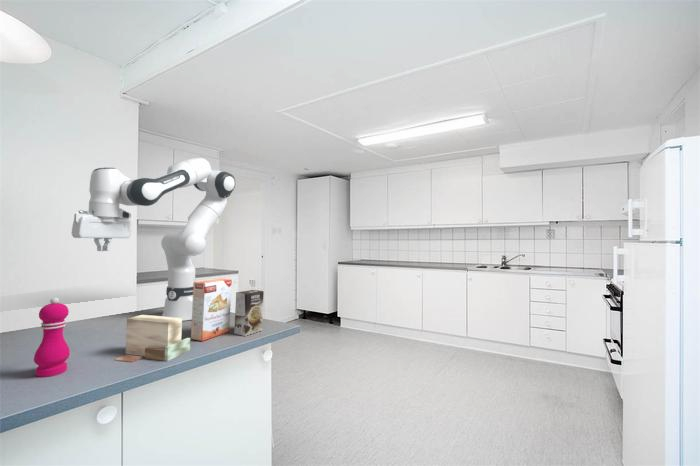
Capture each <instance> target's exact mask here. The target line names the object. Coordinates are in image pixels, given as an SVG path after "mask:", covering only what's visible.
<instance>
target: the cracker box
mask: <svg viewBox="0 0 700 466" xmlns="http://www.w3.org/2000/svg"><path fill="white" fill-rule="evenodd" d="M232 282H233V280H232V279H231V278H215V279H207V280H198V281H195V282H194V284H193V304H192V320H191V329H190V340H195V341H200V342H205V341H206V340H209V339H210V340H211V339H212V338H215V337H219V336H221V335H224V334H226V333H229V332H230V325H231V324H230V323H231V320H230V319H231V302H232V285H233V284H232Z"/></svg>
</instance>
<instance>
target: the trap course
mask: <svg viewBox="0 0 700 466" xmlns="http://www.w3.org/2000/svg"><path fill="white" fill-rule="evenodd" d="M189 351H191V337H186V338H183V339H181V341H179V342H176V343H174V344H172V345H169V346H167V347H165V349H157V348H148V347H147V348H145V356H141V355H132V354H125V355H122V356H119V357H117V358H114V361H118V362H126V363H134V362H136V361H138V360H141V359H142V358H144V359H145V360H146V359H147V360H154V361H162V362H164V361H165V362H169V361H171V360H172V359H174V358H177V357H178V356H181V355H183V354H186V353H187V352H189Z"/></svg>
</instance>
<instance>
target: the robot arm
mask: <svg viewBox="0 0 700 466" xmlns="http://www.w3.org/2000/svg"><path fill="white" fill-rule="evenodd" d="M190 186H193V187H194V188H195V189H197V190H198V191H200V192H205V196H204V198H203V199H202V200H201V201H200V203H198V205H197V206H196V207H195V208H194V210H192V211H191V213H190V214H189V215H188V217H187V224H186V225H185V227H184V229H182V231H172V232H169V233H167V234H165V235H164V236H163V237H162V238H161V242H160V243H161V248H162V249H163V251H164V255H165V258H166V259H165V260H166V264H167V286H166V290H165V291H166V292H165V294H166V297H165V300H164V306H163V313H162V314H161V316H164V317H176V318H182V322H183V321H190V320H191V321H192V304H193V284H194V282H196V267H195V266H194V264H193V261H192V257H195V256H197V255H201V254H202V253H203V252H204V251H205V249H206V246H207V242H206V240H207V237H208V235H209V233H210V231H211V229H212V228H213V227H214V225H215V224H216V223H217V221H218V220H219V218H220V217H221V216H222V214H223V213H224V210H225V209H226V206H227V204H228V200H227V198H228V197H230V196H231V194H232V193H233V191H234V189H235V188H236V178H235V176H234V175H233V174H232V173H230V172H227V171H222V170H218V169H217V170H216V169H212V167H211V164H210V162H209V161H208V160H207V159H205V158H204V157H193V158H187V159H183V160H180V161H178V162H175V163H173V164H172V165H169V167H167V171H166V174H164V175H162V176H159V177H155V178H150V177H141V178H137V179H132V178H129V177H128V176H126V175H125V174H123V173H122V172H121V171H120V170H119V169H118V168H116V167H98V168H95V169H93V170H92V172H91V175H90V179H89V191H88V192H89V194H90V199H89V202H88V210H87V211H86V210H79V211H77V212H75V213H74V216H73V222H72V226H71V227H72V228H71V235H72V238H75V239H93V242H94V244H95V246H96V251H97V252H108V251H109V250H110V249H109V247H110V245H111V244H112V241H113V239H129V238H130V237H131V234H132V222H131V220H130V219H132V214H131V213H130V212H129V211H126V210H124V209H122V208H121V207H120V204H121V205H123V206H131V207H133V206H144V207H150V206H152V205H155V204H156V203H158V201H159V200H160V199H161V198H162V197H163V196H164V195H165V194H167V193H170V192H172V191H174V190H177V189H182V188H188V187H190ZM102 242H104V243H102Z"/></svg>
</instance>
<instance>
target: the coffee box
mask: <svg viewBox="0 0 700 466" xmlns="http://www.w3.org/2000/svg"><path fill="white" fill-rule="evenodd" d="M264 292H265V291H264V290H259V289H258V290H256V289H255V290H254V289H250V290H244V291H243V290H242V291H237V292H236V293H235V307H234V308H235V310H234V311H235V313H234V332H233V334H235V335H238V336H243V337H248V336H250V334H251V335H254V334H257V333H260V332H259V331H261V332H263V321H264V320H263V317H264ZM256 332H257V333H256ZM253 333H254V334H253ZM247 335H248V336H247Z"/></svg>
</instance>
